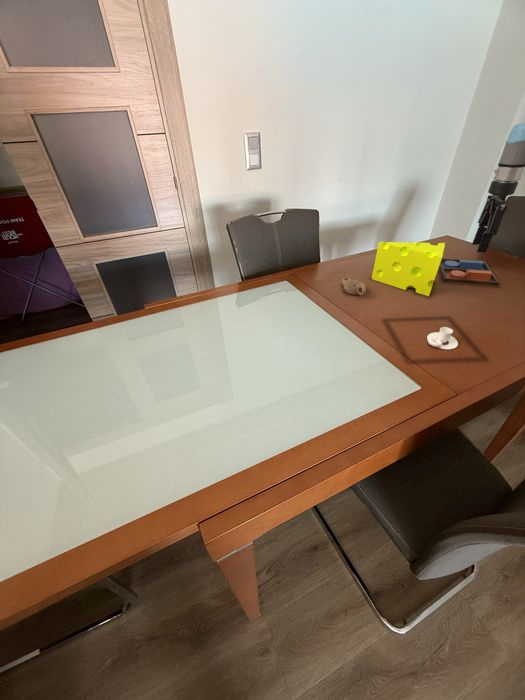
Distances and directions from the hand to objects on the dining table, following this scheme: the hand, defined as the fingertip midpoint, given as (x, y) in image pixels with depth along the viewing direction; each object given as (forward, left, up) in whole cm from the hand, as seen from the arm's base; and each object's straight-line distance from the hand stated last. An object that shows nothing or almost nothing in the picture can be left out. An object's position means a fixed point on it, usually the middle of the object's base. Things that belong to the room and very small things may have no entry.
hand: (478, 247), depth 116 cm
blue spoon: (+4, 0, -8) cm, 9 cm away
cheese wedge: (+24, +19, -9) cm, 32 cm away
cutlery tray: (+3, +5, -9) cm, 10 cm away
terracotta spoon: (+3, +9, -8) cm, 13 cm away
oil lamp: (+44, +28, -9) cm, 53 cm away
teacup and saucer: (+21, +52, -9) cm, 56 cm away
